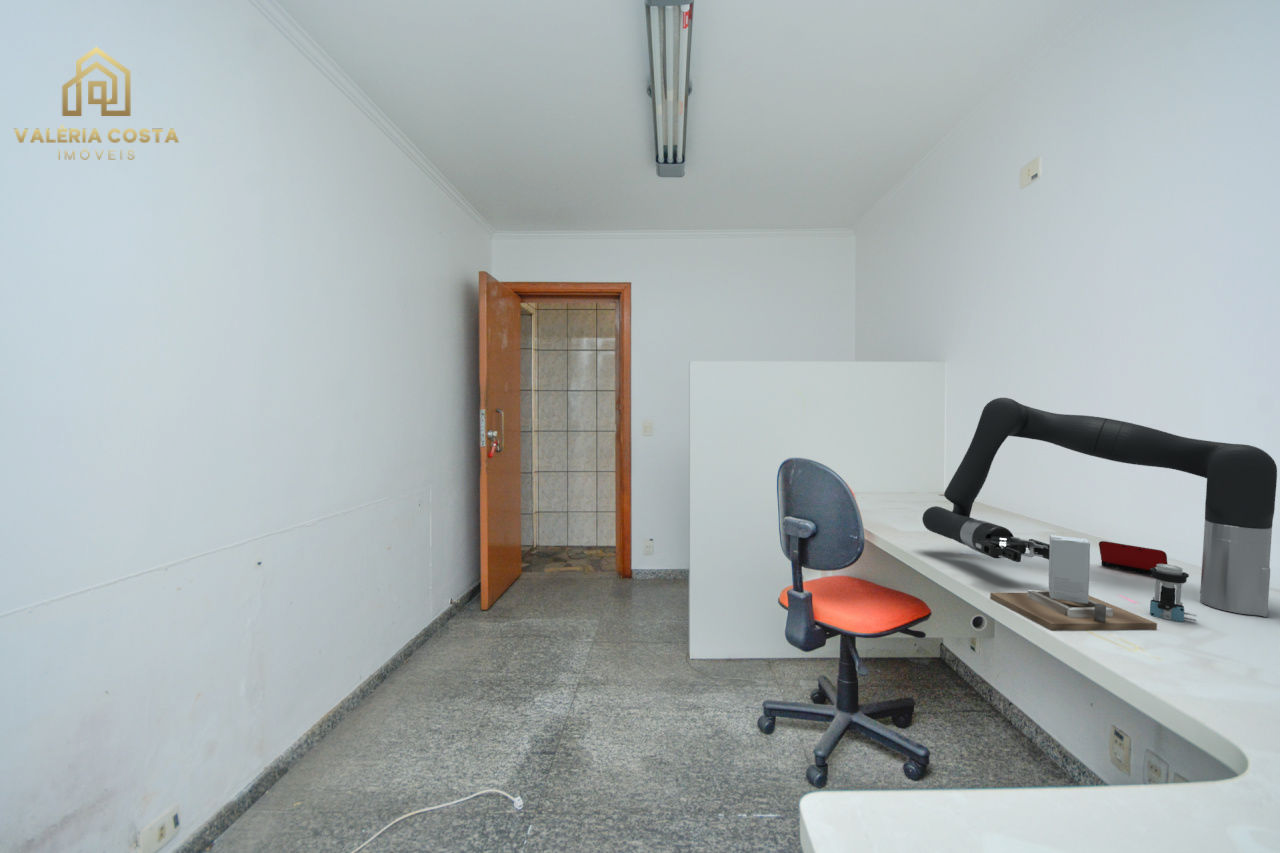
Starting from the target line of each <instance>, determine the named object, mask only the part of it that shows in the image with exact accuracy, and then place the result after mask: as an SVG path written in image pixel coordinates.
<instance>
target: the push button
mask: <svg viewBox="0 0 1280 853" xmlns="http://www.w3.org/2000/svg"><path fill="white" fill-rule="evenodd" d="M1150 571H1151V572H1152V575H1150V577H1151V578H1153V579H1155V585H1154V586H1155V587H1154V597H1152V599H1151V600H1150V604H1149V608H1150V609H1149V615H1150V616H1151V617H1154V618H1155V617H1157V618H1160V619H1161V618H1162V619H1166V620H1170V621H1175V622H1176V621H1177V622H1181V623H1183V622H1185V620H1190V621H1195V622H1197V619H1195V618H1189V617H1185V615H1187V616H1192V617H1197V614H1194V613H1188V612H1185V607H1184V605H1183V602H1181V601H1182V600H1181V599H1182V584H1186V583H1187V580H1188V578H1189V576H1190V575H1189V573H1187V572H1184V571H1183V568H1182V567H1181V566H1178V565H1172V564H1168V563H1167V564H1157V567H1155V568H1150ZM1161 583H1162V585H1161ZM1175 586H1176V588H1175Z"/></svg>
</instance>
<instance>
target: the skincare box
mask: <svg viewBox="0 0 1280 853" xmlns="http://www.w3.org/2000/svg"><path fill="white" fill-rule="evenodd" d="M1048 544H1049V560H1048V590H1049V595H1050V598H1052V599H1058V600H1064V601H1071V602H1077V603H1084V604H1088V595H1089V594H1090V593H1089V591H1090V590H1089V589H1090V587H1089V586H1090V560H1091V555H1090V551H1091V543H1090V541H1089V540H1088V538H1082V537H1074V536H1066V535H1065V536H1064V535H1057V534H1056V535H1055V534H1050V535H1049V543H1048ZM1089 596H1090V595H1089Z"/></svg>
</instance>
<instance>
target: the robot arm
mask: <svg viewBox="0 0 1280 853" xmlns="http://www.w3.org/2000/svg"><path fill="white" fill-rule="evenodd" d="M974 432H975V433H974V435H973V437H972V439H971V442H970V444H969V446H968V449H967V451H966V452H965V454H964V456H963V458H962V460H961V462H960V464H959V465H958V468H957V469H956V471H955V473H954V475H953V476H952V478H951V479H950V481H949V483H948V485H947V487H946V488H945V491H944V493H943V494H944V498H945V499H946V500H947V501H949V502H950V503H952V504H953V505H952V506H953V509H952V511H951V510H949V509H946V508H943V507H941V506H935V505H934V506H930V507H928V508H927V509H925V511H924V512H923V515H922V523H923V524H922V525H923V526H924V528H926V529H927V531H930V532H932V533H934V534H936V535H939V536H942V537H945V538H947V539H949V540H953V541H956V542H957V543H959V544H962V545H963V546H965V547H966V546H967V547H968V548H970V549H971V550H973V551H976V552H978V553H981V554H983V555H985V556H988V557H989V558H994V559H1005V558H1006V559H1008V560H1010V561H1013V562H1015V563H1020V562H1021V561H1022V557H1027V558H1033V557H1038V558H1043V559H1045V560H1048V561H1049V544H1050V543H1046V542H1042V541H1039V540H1036V539H1033V538H1029V539H1028V540H1027V539H1022V538H1020V537H1016V536H1014V534H1013V533H1012V532H1011V531H1010V530H1009V529H1008V528H1006V527H1004V526H1002V525H998V524H995V523H992V522H989V521H985V520H982V519H977V518H973V517H970V516H971V512H972V508H973V505H974V502H975V501H976V499H977V497H978V496H979V494H980V492H981V491H982V488H983V487H984V485H985V482H986V481H987V477H988V476H989V473H990V470H991V467H992V463H993V461H994V459H995V457H996V455H997V453H998V450H999V449H1000V448H1001V446H1002V445H1003V443H1004V442H1005V441H1006V439H1007V438H1008V437H1017V438H1021V439H1023V438H1025V439H1030V440H1036V441H1042V442H1046V443H1050V444H1052V445H1055V446H1059V447H1061V448H1064V449H1067V450H1071V451H1074V452H1077V453H1080V454H1084V455H1086V456H1087V455H1088V456H1089V457H1090V456H1092V457H1096V458H1099V459H1104V460H1108V461H1111V462H1117V463H1123V464H1129V465H1136V466H1144V467H1156V468H1164V469H1169V470H1170V469H1171V470H1175V471H1179V472H1183V473H1187V474H1190V475H1195V476H1197V477H1201V478H1205V479H1206V486H1205V487H1206V489H1205V490H1206V492H1205V504H1204V506H1205V507H1204V526H1203V529H1204V530H1203V543H1202V544H1203V545H1202V559H1201V560H1202V561H1201V573H1200V574H1201V576H1200V589H1199V601H1200V603H1202V604H1204V605H1207V606H1209V607H1211V608H1214V609H1217V610H1222V611H1225V612H1226V611H1227V612H1231V613H1235V614H1241V615H1250V616H1260V617H1265V618H1267V617H1268V613H1269V612H1268V611H1269V595H1270V584H1271V582H1270V580H1271V568H1270V565H1271V564H1270V563H1271V553H1272V552H1271V549H1272V548H1271V547H1272V535H1273V520H1274V516H1275V508H1276V493H1277V483H1278V482H1277V478H1278V468H1277V467H1278V466H1277V464H1276V462H1275V460H1274V459H1273V457H1272V456H1271V455H1270V454H1268V453H1267V452H1266V451H1265V450H1263V449H1261V448H1259V447H1256V446H1253V445H1249V444H1244V443H1243V444H1242V443H1227V442H1221V441H1220V442H1219V441H1218V442H1217V441H1211V440H1203V439H1197V438H1196V439H1195V438H1190V437H1186V436H1180V435H1176V434H1173V433H1169V432H1166V431H1163V430H1159V429H1156V428H1152V427H1148V426H1144V425H1141V424H1136V423H1132V422H1128V421H1123V420H1118V419H1113V418H1106V417H1100V416H1094V415H1084V414H1083V415H1081V414H1080V415H1079V414H1063V413H1055V412H1050V411H1047V410H1046V411H1045V410H1042V409H1039V408H1035V407H1030V406H1027V405H1026V404H1021V403H1019V402H1018V401H1016V400H1014V399H1012V398H1008V397H997V398H993V399H991V400H990V401H989V402H987V403H986V404H985V406H984V407H983V410H982V411H981V414H980V417H979V421H978V423H977V425H976V429H975V431H974ZM1027 550H1028V551H1029V553H1028V552H1027ZM1026 552H1027V553H1026Z"/></svg>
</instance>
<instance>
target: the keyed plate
mask: <svg viewBox="0 0 1280 853" xmlns="http://www.w3.org/2000/svg"><path fill="white" fill-rule="evenodd" d="M989 598H990V599H991V600H993V601H994V602H997V603H998V604H1000V605H1002V606H1003V607H1004V606H1005V607H1006V608H1008V609H1010V610H1012V611H1014V612H1015V613H1018V614H1019V615H1021V616H1023V617H1024V618H1025V617H1026V618H1027V619H1029V620H1031V621H1033V622H1035V623H1037V624H1038V625H1040V626H1043V627H1044V628H1046V629H1049V630H1050V631H1125V630H1126V631H1129V630H1130V631H1131V630H1132V631H1133V630H1135V631H1138V630H1139V631H1140V630H1142V631H1143V630H1144V631H1145V630H1146V631H1148V630H1149V631H1152V630H1153V631H1154V630H1157V628H1158V623H1157V622H1155V621H1153V620H1150V619H1148V618H1145V617H1143V616H1140V615H1138V614H1135V613H1133V612H1130V611H1129V610H1127V609H1123V608H1121V607H1118V606H1116V605H1113V604H1110V603H1108V602H1106V601H1104V600H1101V599H1100V598H1096V597H1094V596H1091V595H1088V604H1084V603H1077V602H1071V601H1064V600H1058V599H1052V598H1050V595H1049V589H1041V590H1039V589H1036V590H1034V589H1029V590H1028V589H1027V591H1026V592H990V594H989Z"/></svg>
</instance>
